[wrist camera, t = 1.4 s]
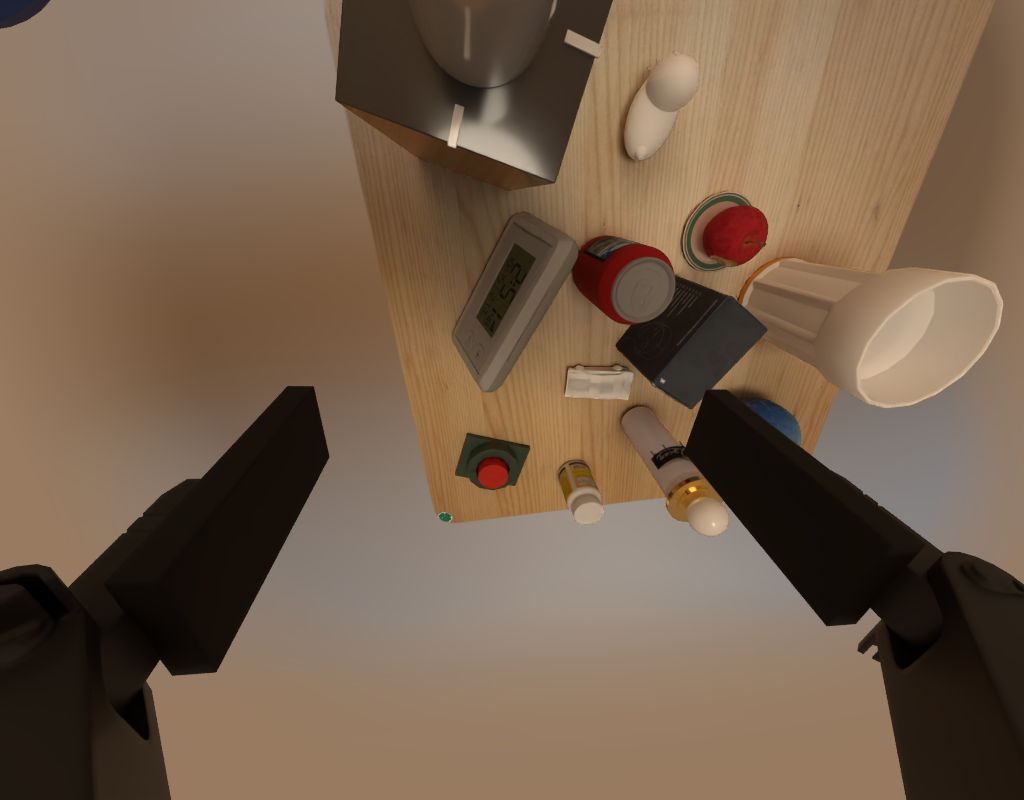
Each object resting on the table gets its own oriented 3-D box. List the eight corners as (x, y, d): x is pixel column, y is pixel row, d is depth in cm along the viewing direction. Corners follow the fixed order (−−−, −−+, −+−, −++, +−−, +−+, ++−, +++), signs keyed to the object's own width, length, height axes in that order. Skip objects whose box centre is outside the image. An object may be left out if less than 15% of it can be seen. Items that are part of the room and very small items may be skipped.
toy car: (621, 395, 50) (627, 403, 48) (563, 395, 49) (566, 404, 47) (628, 363, 47) (635, 370, 45) (566, 363, 46) (571, 370, 44)
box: (650, 371, 48) (691, 412, 39) (612, 346, 46) (647, 383, 37) (710, 302, 44) (772, 329, 35) (673, 271, 42) (728, 292, 33)
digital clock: (522, 201, 37) (539, 202, 28) (583, 262, 41) (615, 281, 31) (429, 321, 42) (416, 356, 33) (489, 367, 46) (493, 410, 37)
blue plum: (745, 425, 41) (835, 456, 45) (721, 368, 46) (804, 401, 51) (686, 459, 47) (770, 484, 52) (671, 405, 53) (748, 432, 57)
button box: (455, 472, 53) (454, 484, 51) (467, 432, 50) (466, 443, 48) (514, 482, 55) (516, 494, 53) (529, 445, 52) (531, 456, 50)
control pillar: (416, 159, 35) (330, 101, 14) (437, 34, 31) (358, -315, 10) (509, 192, 37) (557, 186, 16) (539, 79, 33) (658, -130, 12)
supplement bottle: (567, 489, 57) (580, 532, 49) (551, 469, 55) (564, 512, 47) (594, 474, 56) (612, 516, 48) (580, 454, 54) (597, 494, 46)
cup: (714, 338, 47) (829, 406, 32) (750, 242, 41) (910, 268, 26) (793, 344, 48) (941, 411, 33) (838, 251, 43) (1039, 281, 28)
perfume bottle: (657, 428, 53) (749, 542, 35) (618, 440, 53) (689, 559, 36) (653, 394, 50) (749, 500, 32) (611, 407, 50) (685, 519, 33)
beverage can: (640, 244, 40) (698, 260, 30) (616, 304, 43) (661, 338, 33) (583, 226, 39) (624, 237, 29) (562, 289, 42) (592, 320, 32)
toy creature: (687, 74, 34) (728, 50, 28) (646, 172, 37) (676, 167, 32) (643, 52, 33) (677, 23, 27) (605, 155, 36) (629, 147, 31)
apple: (750, 259, 42) (793, 269, 37) (682, 280, 43) (714, 292, 37) (754, 181, 38) (802, 178, 33) (678, 205, 39) (713, 206, 33)
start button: (474, 477, 51) (475, 485, 50) (482, 454, 50) (482, 462, 48) (502, 482, 52) (503, 490, 51) (510, 459, 50) (512, 468, 49)
